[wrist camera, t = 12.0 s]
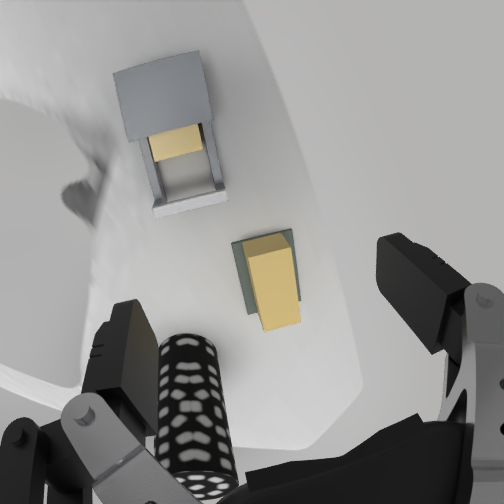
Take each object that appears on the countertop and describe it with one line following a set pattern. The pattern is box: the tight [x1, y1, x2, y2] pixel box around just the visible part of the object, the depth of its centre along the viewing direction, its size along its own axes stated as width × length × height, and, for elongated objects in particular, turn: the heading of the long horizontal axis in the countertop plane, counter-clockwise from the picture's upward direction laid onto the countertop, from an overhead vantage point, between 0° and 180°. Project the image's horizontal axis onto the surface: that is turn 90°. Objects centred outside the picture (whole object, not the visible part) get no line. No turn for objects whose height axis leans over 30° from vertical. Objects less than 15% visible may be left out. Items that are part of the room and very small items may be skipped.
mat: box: [231, 229, 301, 315], centre depth 39 cm, size 10×7×1 cm
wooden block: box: [242, 233, 301, 332], centre depth 37 cm, size 10×4×4 cm, turn 11°
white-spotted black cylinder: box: [154, 334, 239, 500], centre depth 34 cm, size 8×8×20 cm
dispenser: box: [113, 51, 228, 219], centre depth 27 cm, size 14×7×7 cm, turn 10°
